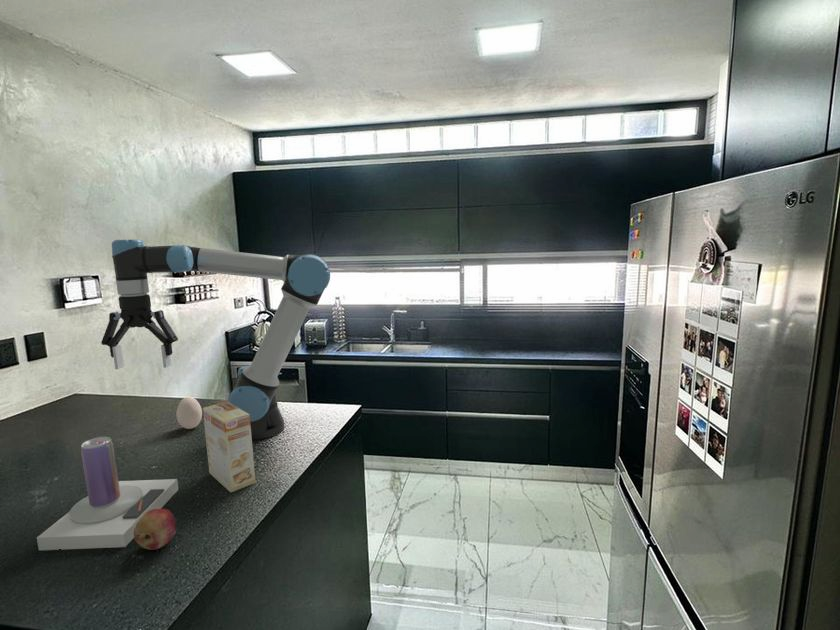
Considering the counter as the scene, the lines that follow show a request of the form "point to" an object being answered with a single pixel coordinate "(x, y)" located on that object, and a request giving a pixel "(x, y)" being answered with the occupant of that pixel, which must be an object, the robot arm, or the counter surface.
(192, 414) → the egg
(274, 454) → the counter surface
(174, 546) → the counter surface
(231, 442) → the coffeecake box
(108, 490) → the beverage can
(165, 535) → the fruit
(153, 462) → the counter surface
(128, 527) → the scale
